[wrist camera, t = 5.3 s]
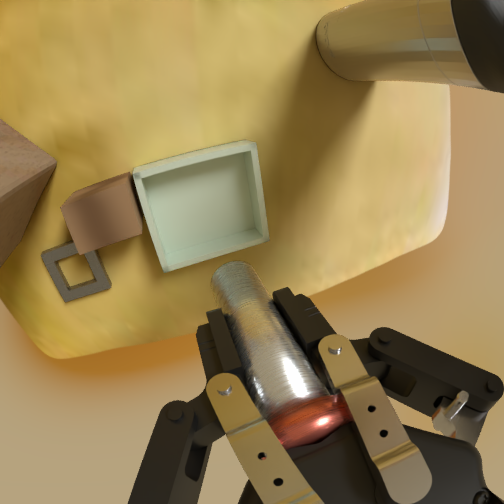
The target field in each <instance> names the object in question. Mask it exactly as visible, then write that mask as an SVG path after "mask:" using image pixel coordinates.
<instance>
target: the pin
mask: <svg viewBox="0 0 504 504" xmlns="http://www.w3.org/2000/svg"><path fill="white" fill-rule="evenodd" d="M211 289H212V292H213V295H214V298H215V301H216V304H217V307H218V309H219V308H221V309H222V312H223V315H224V318H225V321H226V323H227V326H228V329H229V332H230V334H231V337H232V340H233V343H234V345H235V348H236V351H237V353H238V356H239V359H240V361H241V364H242V367H243V370H244V373H245V380H244V381H245V385H246V388H247V390H248V393H249V396H250V398H251V400H252V401H253V403H254V405H255V406H256V408H257V410H258V411H259V413H260V415H261V416H262V418H264V419H265V420H266V421H267V423H268V424H269V426H270V427H271V429H272V430H273V432H274V434H275V435H276V437H277V438H278V440H279V441H280V443H281V444H282V446H283V447H284V449H285V450H287V449H290V448H295V447H301V446H307V445H313V444H318V443H320V442H322V441H323V440H325V439H326V438H327V437H329V436H330V435H331V434H332V433H334V432H335V431H336V430H337V429H339V428H340V427H341V426H343V425H345V424H347V423H349V422H350V421H349V417H348V415H347V413H346V410H345V408H344V406H343V404H342V402H341V400H340V398H339V396H338V395H330V393H329V392H328V390H327V389H326V387H325V385H324V384H323V382H322V380H321V379H320V377H319V375H318V374H317V372H316V370H315V369H314V367H313V366H312V364H311V362H310V361H309V359H308V357H307V356H306V354H305V352H304V351H303V349H302V347H301V346H300V344H299V343H298V341H297V339H296V338H295V336H294V334H293V333H292V331H291V329H290V328H289V326H288V324H287V323H286V321H285V319H284V318H283V316H282V314H281V313H280V311H279V309H278V308H277V306H276V304H275V303H274V301H273V299H272V298H271V296H270V294H269V293H268V291H267V289H266V288H265V286H264V284H263V283H262V281H261V279H260V278H259V276H258V274H257V273H256V271H255V269H254V268H253V267H252V266H251V265H250V264H248V263H246V262H243V261H232V262H228V263H226V264H224V265H222V266H221V267H219V268H218V269H217V270H216V272H215V273H214V274H213V276H212V279H211ZM265 459H266V457H263V458H262V460H265Z"/></svg>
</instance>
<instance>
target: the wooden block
mask: <svg viewBox="0 0 504 504" xmlns="http://www.w3.org/2000/svg"><path fill="white" fill-rule="evenodd" d="M56 164H57V161H56V160H55V159H54V158H53V157H51V156H50V155H49V154H47V153H46V152H44V151H43V150H42V149H40V148H39V147H38V146H36V145H35V144H33V143H32V142H31V141H29V140H28V139H27V138H25V137H24V136H23V135H21V134H20V133H18V132H17V131H16V130H14V129H13V128H12V127H10V126H9V125H8V124H6V123H5V122H4V121H2V120H1V119H0V267H1V266H2V265H3V263H4V262H5V261H6V259H7V258H8V257H9V255H10V254H11V253H12V251H13V250H14V249H15V248H16V246H17V245H18V244H19V243H20V241H21V239H22V237H23V234H24V232H25V229H26V227H27V224H28V222H29V220H30V217H31V215H32V213H33V211H34V208H35V206H36V204H37V202H38V200H39V198H40V196H41V194H42V192H43V190H44V188H45V186H46V184H47V182H48V180H49V178H50V176H51V174H52V173H53V171H54V169H55V167H56Z"/></svg>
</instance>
